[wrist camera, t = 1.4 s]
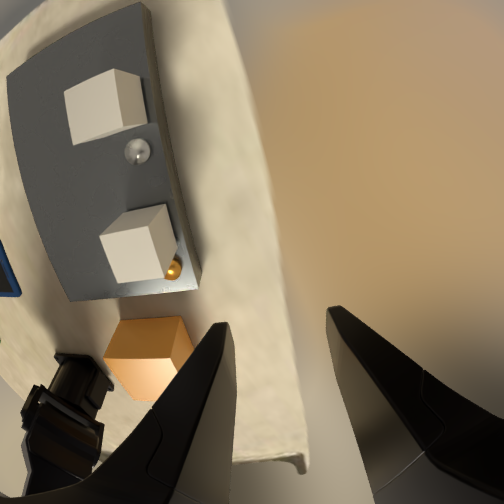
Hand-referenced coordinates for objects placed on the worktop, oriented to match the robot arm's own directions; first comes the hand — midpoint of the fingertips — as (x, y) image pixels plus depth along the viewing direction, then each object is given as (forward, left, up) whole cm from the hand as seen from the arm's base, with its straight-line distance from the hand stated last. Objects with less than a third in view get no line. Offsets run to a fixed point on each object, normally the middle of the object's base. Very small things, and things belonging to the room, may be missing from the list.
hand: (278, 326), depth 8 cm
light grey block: (-7, 0, -10) cm, 12 cm away
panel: (-11, +5, -12) cm, 17 cm away
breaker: (-7, +8, -10) cm, 14 cm away
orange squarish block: (-11, -12, -12) cm, 20 cm away
